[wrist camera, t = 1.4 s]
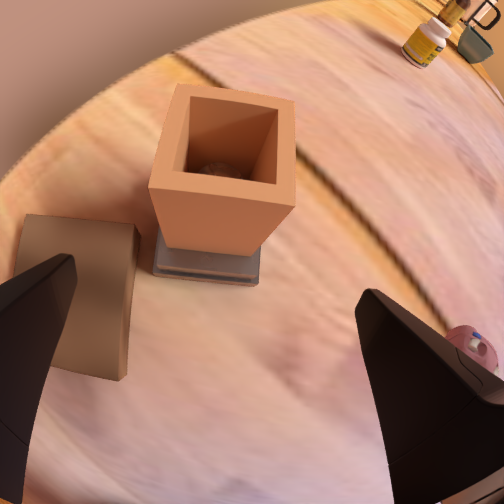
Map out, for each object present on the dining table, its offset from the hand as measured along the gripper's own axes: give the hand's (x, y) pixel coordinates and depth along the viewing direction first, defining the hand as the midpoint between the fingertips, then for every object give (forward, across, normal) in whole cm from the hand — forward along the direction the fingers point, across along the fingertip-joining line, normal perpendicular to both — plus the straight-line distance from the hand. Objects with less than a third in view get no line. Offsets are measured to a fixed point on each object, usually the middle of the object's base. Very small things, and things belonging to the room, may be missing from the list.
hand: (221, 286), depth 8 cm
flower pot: (+55, -56, -37) cm, 87 cm away
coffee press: (+95, -90, -77) cm, 152 cm away
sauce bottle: (+71, -60, -54) cm, 107 cm away
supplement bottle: (+38, -28, -21) cm, 52 cm away
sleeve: (+10, 0, +2) cm, 10 cm away
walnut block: (+8, +10, +9) cm, 16 cm away
